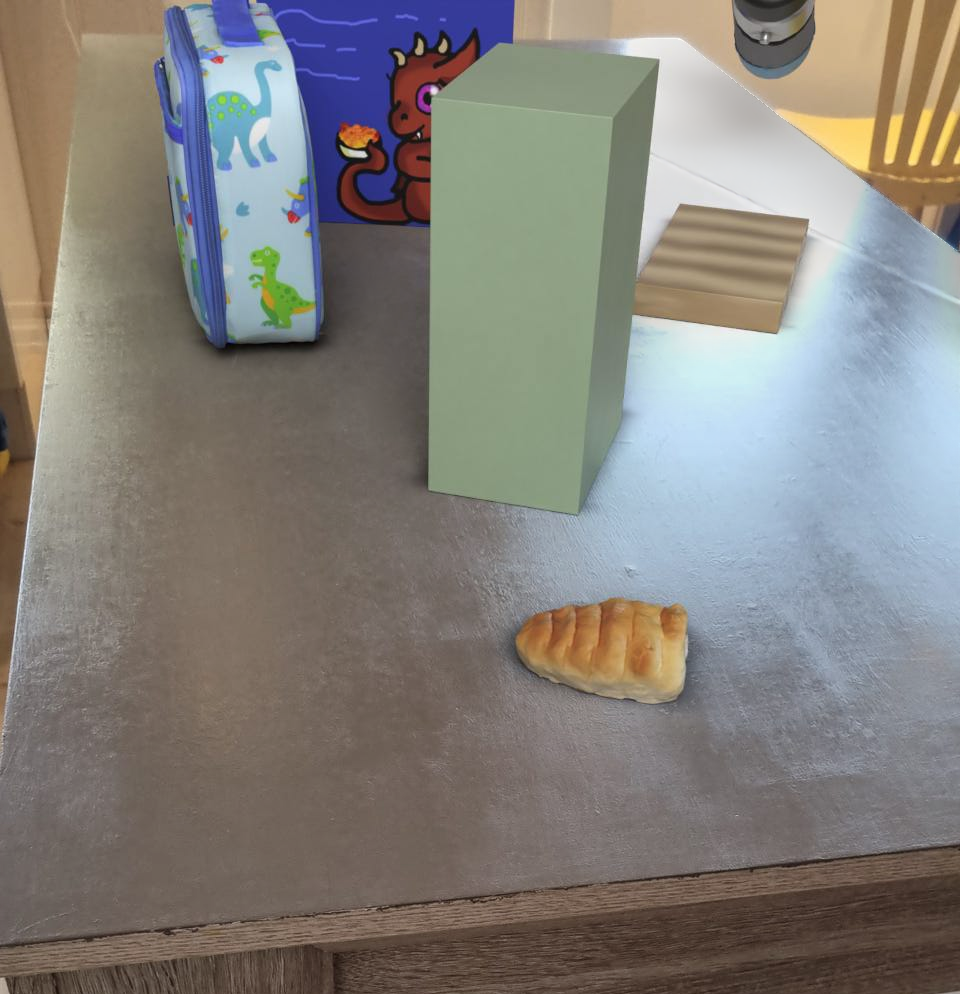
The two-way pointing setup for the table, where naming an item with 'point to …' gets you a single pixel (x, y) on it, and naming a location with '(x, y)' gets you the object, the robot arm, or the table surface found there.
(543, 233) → the plinth
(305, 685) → the table surface
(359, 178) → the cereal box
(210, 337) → the lunch box
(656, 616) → the pastry
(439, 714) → the table surface
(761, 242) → the maple board
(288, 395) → the table surface
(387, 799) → the table surface
